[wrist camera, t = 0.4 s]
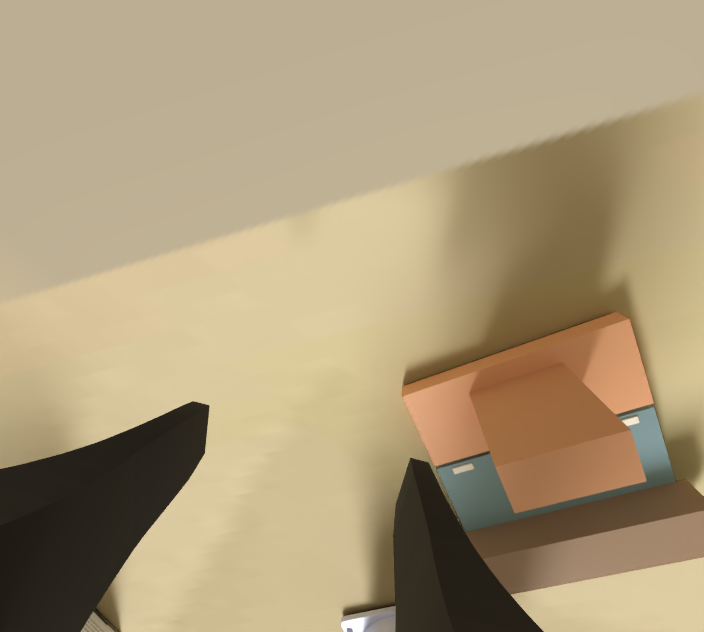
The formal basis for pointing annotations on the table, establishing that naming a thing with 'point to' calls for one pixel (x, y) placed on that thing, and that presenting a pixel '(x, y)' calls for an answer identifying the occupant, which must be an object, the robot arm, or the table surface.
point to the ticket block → (580, 520)
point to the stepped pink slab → (542, 413)
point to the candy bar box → (98, 624)
